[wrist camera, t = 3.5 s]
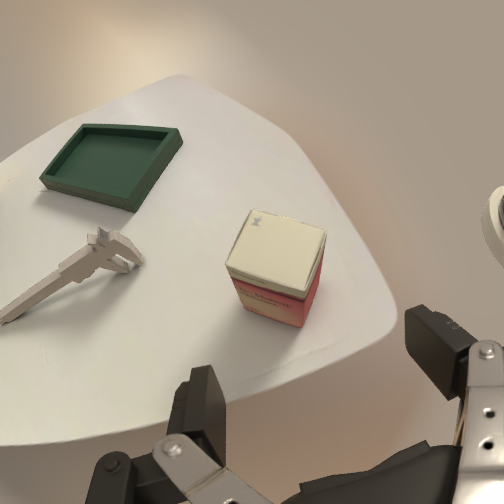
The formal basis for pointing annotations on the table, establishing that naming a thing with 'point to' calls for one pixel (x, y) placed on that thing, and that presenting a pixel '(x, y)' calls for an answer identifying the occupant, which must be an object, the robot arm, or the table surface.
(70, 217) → the table surface
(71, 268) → the caliper
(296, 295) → the small box
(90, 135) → the tray
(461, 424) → the robot arm
